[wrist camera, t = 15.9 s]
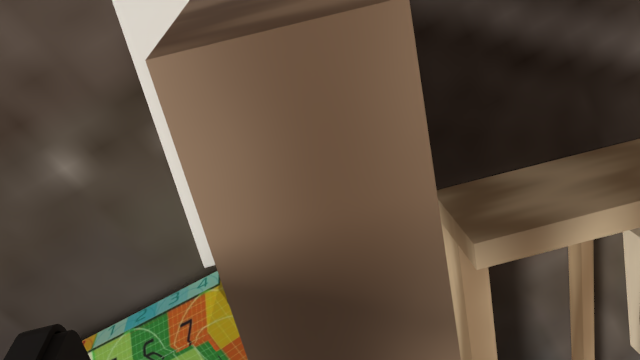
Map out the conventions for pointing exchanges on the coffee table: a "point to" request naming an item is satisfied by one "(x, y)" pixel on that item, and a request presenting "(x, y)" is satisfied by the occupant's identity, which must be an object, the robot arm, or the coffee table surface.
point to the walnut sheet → (312, 174)
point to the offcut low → (633, 283)
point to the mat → (142, 36)
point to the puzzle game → (175, 329)
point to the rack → (536, 233)
